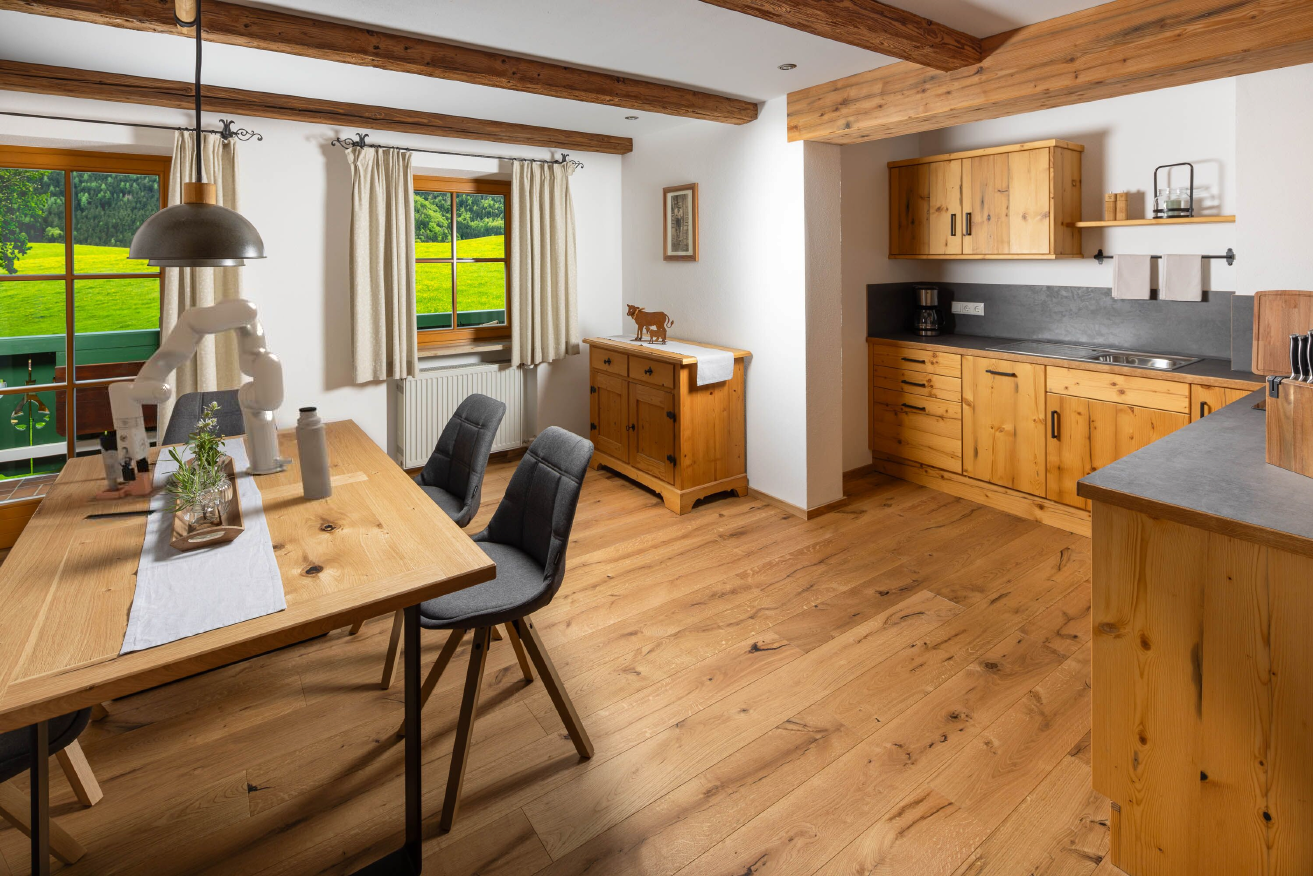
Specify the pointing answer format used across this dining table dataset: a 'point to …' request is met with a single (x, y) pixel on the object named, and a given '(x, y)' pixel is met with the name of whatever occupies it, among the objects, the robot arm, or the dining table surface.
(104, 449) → the grey mug
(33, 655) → the dining table surface
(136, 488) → the pink l-shaped piece
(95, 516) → the slate mat
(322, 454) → the thermos bottle
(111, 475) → the stand
